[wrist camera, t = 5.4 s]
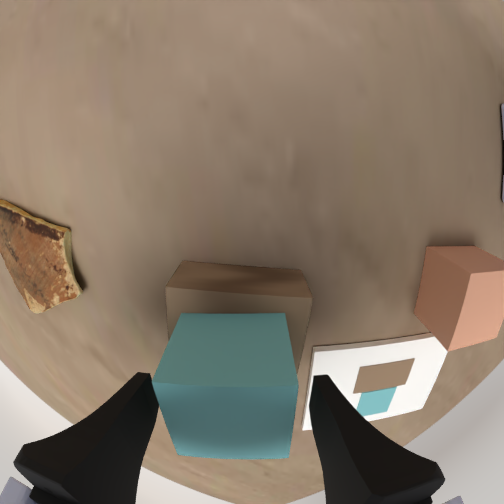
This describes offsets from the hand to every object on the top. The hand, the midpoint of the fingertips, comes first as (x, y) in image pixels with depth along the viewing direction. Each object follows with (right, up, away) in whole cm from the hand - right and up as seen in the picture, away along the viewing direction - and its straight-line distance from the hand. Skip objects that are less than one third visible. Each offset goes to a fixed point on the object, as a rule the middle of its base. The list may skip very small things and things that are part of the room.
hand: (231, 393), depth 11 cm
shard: (-16, +6, +6) cm, 18 cm away
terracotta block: (+15, +4, +6) cm, 17 cm away
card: (+11, -4, +8) cm, 15 cm away
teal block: (0, +1, +3) cm, 3 cm away
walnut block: (0, +2, +7) cm, 7 cm away
